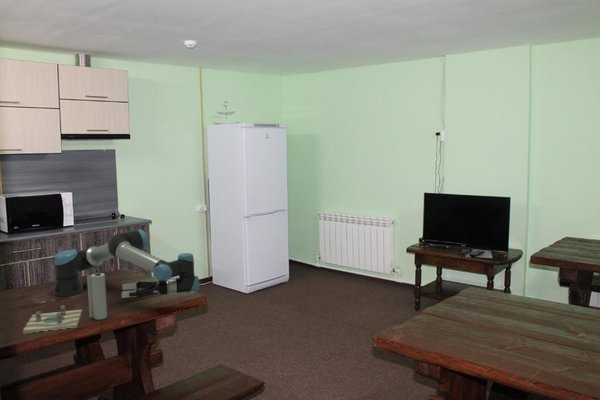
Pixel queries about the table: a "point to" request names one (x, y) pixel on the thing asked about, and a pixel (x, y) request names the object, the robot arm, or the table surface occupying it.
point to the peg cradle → (53, 320)
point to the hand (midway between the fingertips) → (122, 291)
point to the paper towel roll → (97, 296)
